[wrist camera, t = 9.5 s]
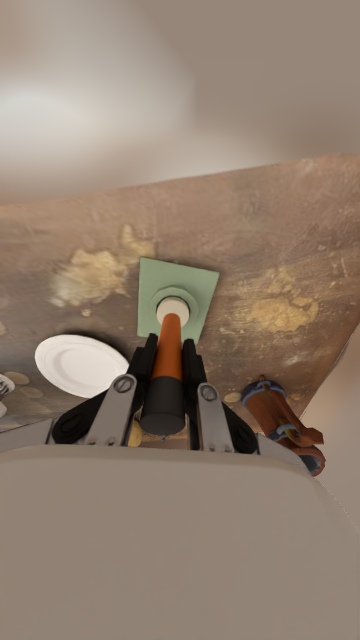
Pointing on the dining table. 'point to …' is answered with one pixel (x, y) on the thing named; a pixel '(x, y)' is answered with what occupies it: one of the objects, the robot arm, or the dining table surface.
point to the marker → (166, 383)
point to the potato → (135, 435)
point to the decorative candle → (5, 386)
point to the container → (2, 410)
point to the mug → (283, 423)
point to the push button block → (174, 294)
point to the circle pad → (173, 309)
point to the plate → (79, 364)
